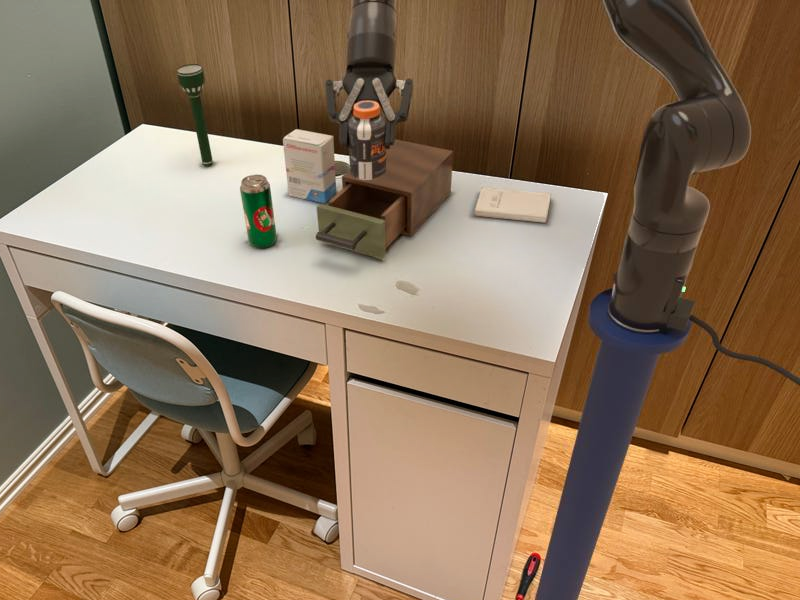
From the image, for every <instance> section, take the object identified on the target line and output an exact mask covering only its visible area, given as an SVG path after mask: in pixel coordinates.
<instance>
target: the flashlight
mask: <svg viewBox="0 0 800 600" xmlns="http://www.w3.org/2000/svg"><path fill="white" fill-rule="evenodd" d="M176 77H177V81H178V84H179V86H180V88H181V89H182V91H183V92H184V93H185V94H187V96H188V98H189V102H190V108H191V112H192V117H193V124H194V128H195V133H196V137H197V142H198V148H199V153H200V159H201V163H202V166H204V167H206V168H208V167H212V166H213V165H214V160H213V155H212V154H213V153H212V150H211V144H210V139H209V134H208V128H207V124H206V117H205V113H204V107H203V103H202V97H201V93H202V91H203V89H204V86H205V82H206V81H205V80H206V78H205V73H204V68H203V66H202V65H201V64H197V63H190V64H185V65H182V66H179V67H178V68H177V69H176Z"/></svg>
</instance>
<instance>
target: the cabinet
mask: <svg viewBox="0 0 800 600" xmlns="http://www.w3.org/2000/svg"><path fill="white" fill-rule="evenodd" d="M453 161H454V150H450V149H446V148H440V147H435V146H430V145H426V144H420V143H417V142H411V141H405V140H401V139H396V138H395V142H394V145H390V149H386V172H385V174H384V175H383V176H381V177H380V178H377V179H373V180H360V179H357V178H355V177H353V176H352V175H351V173H350V169H348V170H347V172H345V173H344V174H343V175H342V176H341V186H342V189H343V188H344V187H345V186H346V185H348V184H349V183H354V184H359V185H363V186H367V187H371V188H375V189H380V190H384V191H388V192H392V193H396V194H400V195H405V196H407V227H406V228H405V229H404V230H403V231H402V232H401V233H400V234H399V235H402V236H407V237H409V238H410V237H412V236H413V235H414V234H415V233H416V232H417V231H418V230H419V229H420V228H421V226H422V225H424V223H425V222H426V221H427V220H428V219H429V218H430V216H431V215H432V214H434V213H435V211H436V210H437V209H438V208H439V207H440V206H441V205H442V204H443V203H444V202H445V200H447V198H449V196H450V195H451V193H452V178H453ZM342 189H341V190H342Z"/></svg>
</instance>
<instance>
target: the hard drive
mask: <svg viewBox="0 0 800 600" xmlns="http://www.w3.org/2000/svg"><path fill="white" fill-rule="evenodd" d="M551 197H552V193H546V192H534V191H523V190H511V189H500V188H489V187H481V189H480V192H479V196H478V198H477V201H476V205H475V208H474V216H477V217H484V218H485V217H486V218H493V219H494V218H495V219H505V220H515V221H525V222H533V223H534V222H535V223H542V224H544V223H545V224H546V223H547V219H548V215H549V209H550V203H551Z"/></svg>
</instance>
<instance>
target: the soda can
mask: <svg viewBox="0 0 800 600" xmlns="http://www.w3.org/2000/svg"><path fill="white" fill-rule="evenodd" d="M240 182H241V183H240V186H239V192H240V198H241V204H242V210H243V216H244V222H245V228H246V234H247V239H248V243H249V244H250V245H251V246H252V247H254V248H258V249H265V248H270V247H271V246H272V245H274V244H275V243H276V241H277V239H278V235H277V228H276V227H277V226H276V221H275V220H276V219H275V214H274V213H275V212H274V205H273V199H272V191H271V183H270V182H269V181H268V178H267V177H266V176H265V175H262V174H250V175H247V176H245V177H243V178H242V179H241V181H240Z"/></svg>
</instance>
